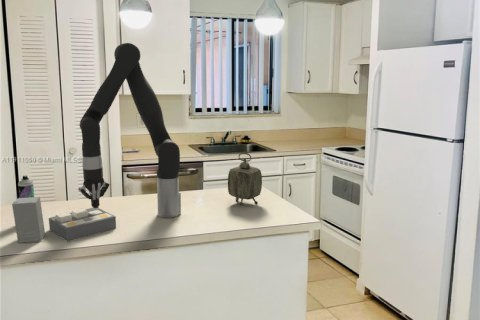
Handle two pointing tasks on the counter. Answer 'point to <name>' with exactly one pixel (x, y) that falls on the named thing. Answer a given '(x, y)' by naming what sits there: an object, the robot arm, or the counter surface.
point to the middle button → (79, 213)
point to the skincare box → (28, 219)
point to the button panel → (83, 225)
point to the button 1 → (63, 217)
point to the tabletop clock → (244, 181)
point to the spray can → (26, 188)
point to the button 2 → (95, 212)
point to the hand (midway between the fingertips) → (95, 207)
